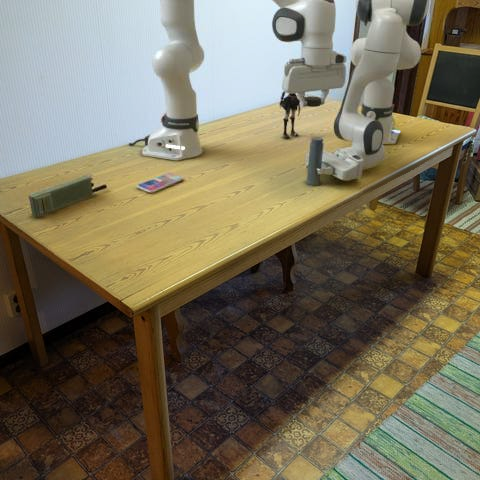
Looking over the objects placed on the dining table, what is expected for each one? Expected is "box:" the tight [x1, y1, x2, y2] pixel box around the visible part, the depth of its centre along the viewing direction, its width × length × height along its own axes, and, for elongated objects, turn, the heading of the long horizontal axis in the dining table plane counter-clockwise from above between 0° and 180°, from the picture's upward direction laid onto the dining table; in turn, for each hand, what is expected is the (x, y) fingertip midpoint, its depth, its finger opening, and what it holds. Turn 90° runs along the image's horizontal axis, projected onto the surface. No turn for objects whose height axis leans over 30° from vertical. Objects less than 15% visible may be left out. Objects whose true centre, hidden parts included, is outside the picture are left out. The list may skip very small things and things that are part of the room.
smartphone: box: [136, 172, 184, 194], centre depth 164 cm, size 7×1×15 cm
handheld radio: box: [28, 173, 108, 219], centre depth 150 cm, size 7×3×25 cm
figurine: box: [279, 91, 305, 140], centre depth 202 cm, size 15×6×30 cm, turn 132°
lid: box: [304, 95, 322, 108], centre depth 151 cm, size 5×5×2 cm
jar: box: [305, 136, 325, 186], centre depth 163 cm, size 4×4×15 cm
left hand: (312, 105), depth 151 cm, fingers closed on lid, 5 cm apart
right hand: (312, 168), depth 164 cm, fingers closed on jar, 4 cm apart
